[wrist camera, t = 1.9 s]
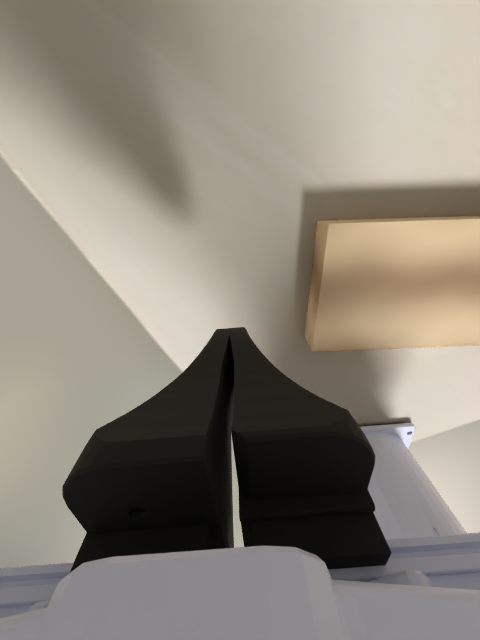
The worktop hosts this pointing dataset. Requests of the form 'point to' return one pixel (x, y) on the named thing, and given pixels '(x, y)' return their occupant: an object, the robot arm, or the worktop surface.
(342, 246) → the board
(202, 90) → the worktop surface
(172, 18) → the worktop surface
